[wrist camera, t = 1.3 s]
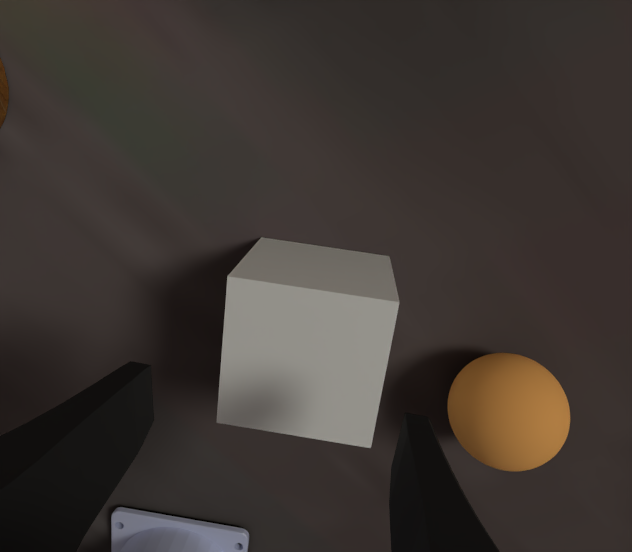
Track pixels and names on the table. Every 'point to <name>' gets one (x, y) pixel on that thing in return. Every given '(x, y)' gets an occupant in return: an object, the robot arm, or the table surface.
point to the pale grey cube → (307, 341)
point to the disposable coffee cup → (3, 94)
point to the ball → (508, 412)
